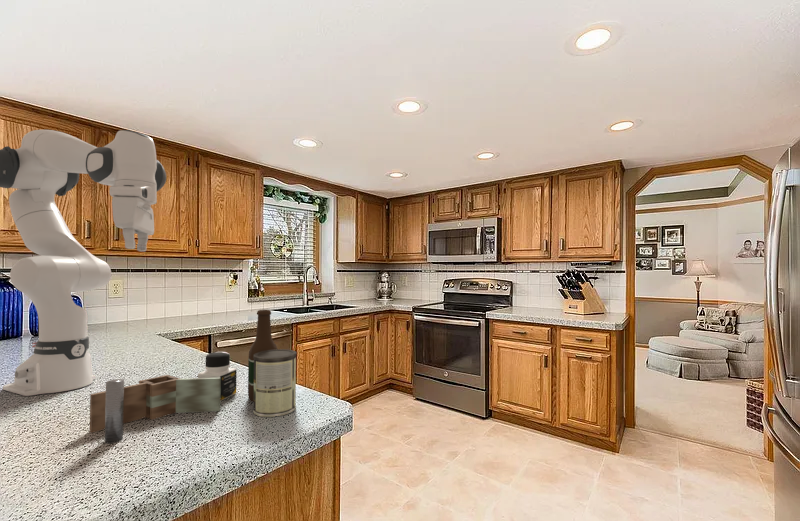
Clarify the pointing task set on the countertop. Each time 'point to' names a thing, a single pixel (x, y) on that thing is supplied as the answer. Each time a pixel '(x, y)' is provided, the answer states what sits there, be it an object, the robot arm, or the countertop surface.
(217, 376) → the medicine bottle
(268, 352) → the coffee can
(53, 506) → the countertop surface
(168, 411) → the stand
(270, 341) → the beer bottle
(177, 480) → the countertop surface
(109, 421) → the hinge pin
